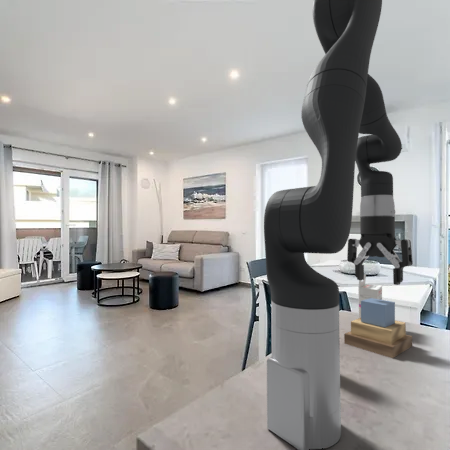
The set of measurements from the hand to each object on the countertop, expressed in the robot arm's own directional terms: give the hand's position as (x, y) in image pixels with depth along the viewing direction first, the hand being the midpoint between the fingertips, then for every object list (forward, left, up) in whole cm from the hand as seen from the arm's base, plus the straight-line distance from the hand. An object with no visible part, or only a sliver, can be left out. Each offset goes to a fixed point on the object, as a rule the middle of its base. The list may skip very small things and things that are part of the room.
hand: (378, 282), depth 71 cm
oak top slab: (0, 0, -13) cm, 13 cm away
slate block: (-1, 0, -10) cm, 10 cm away
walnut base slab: (0, 0, -16) cm, 16 cm away
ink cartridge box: (+11, +7, -15) cm, 20 cm away
